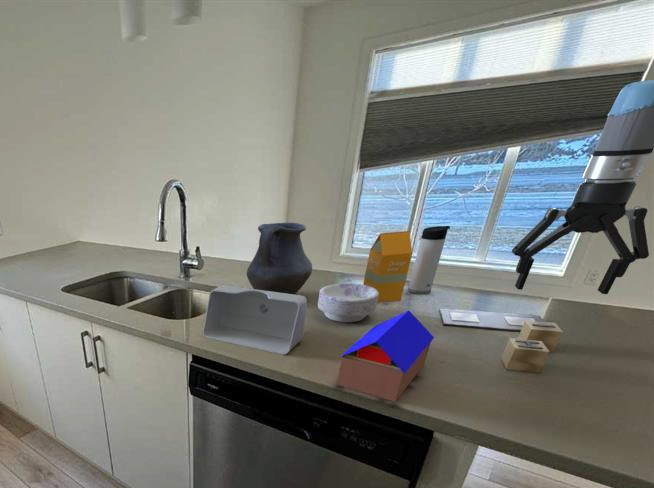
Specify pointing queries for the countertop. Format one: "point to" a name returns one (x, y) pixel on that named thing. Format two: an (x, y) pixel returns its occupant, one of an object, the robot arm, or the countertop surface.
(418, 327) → the house
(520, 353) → the wooden letter cube
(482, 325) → the word board
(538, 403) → the countertop surface
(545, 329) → the wooden letter tile box
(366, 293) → the paper bowls
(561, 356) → the countertop surface
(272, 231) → the pitcher
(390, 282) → the orange juice
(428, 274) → the travel mug
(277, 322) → the gray plastic bin
